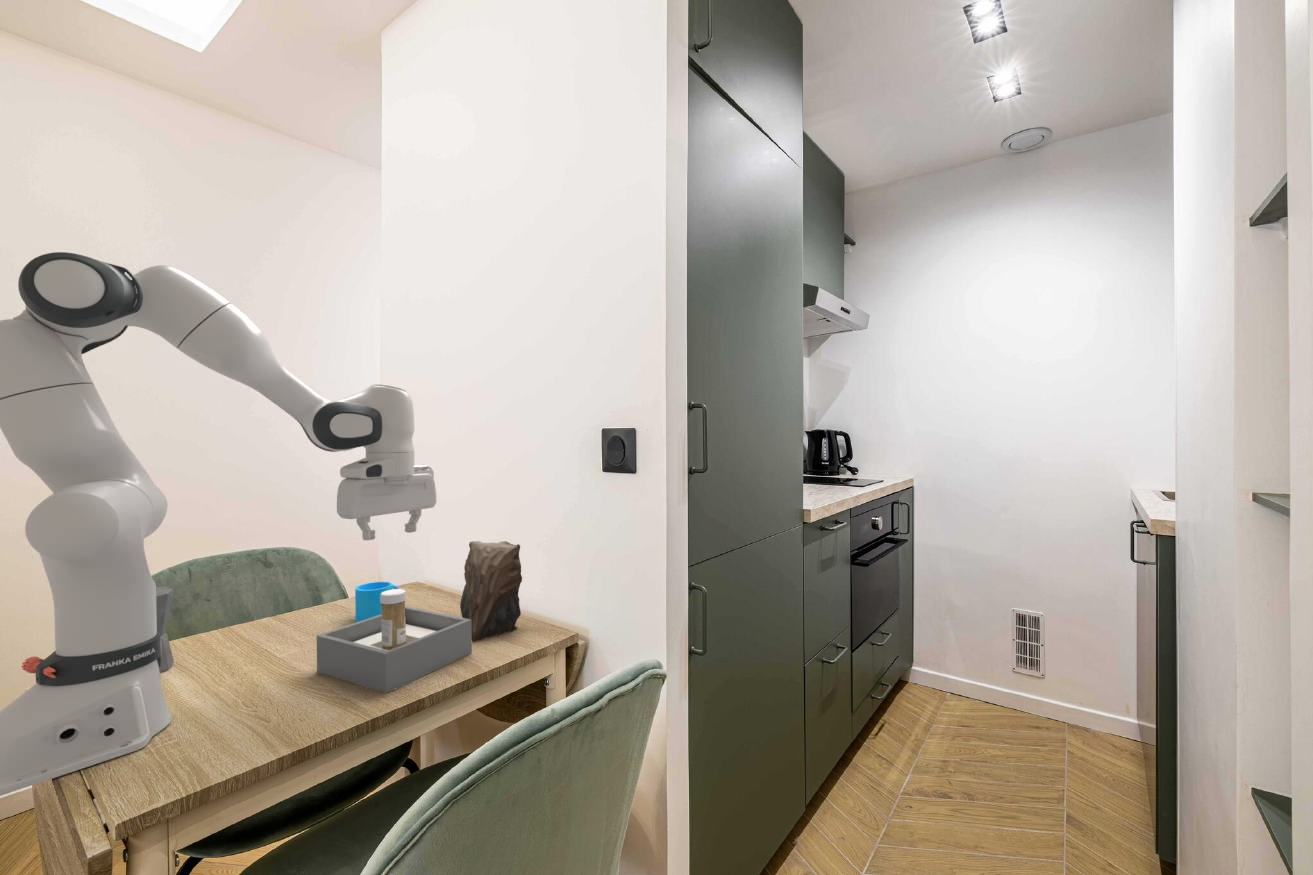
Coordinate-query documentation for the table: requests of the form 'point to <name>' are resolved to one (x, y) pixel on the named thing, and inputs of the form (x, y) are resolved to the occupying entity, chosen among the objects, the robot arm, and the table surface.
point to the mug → (370, 599)
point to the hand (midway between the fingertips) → (390, 535)
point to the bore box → (369, 665)
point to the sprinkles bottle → (393, 618)
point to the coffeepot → (162, 619)
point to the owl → (491, 588)
